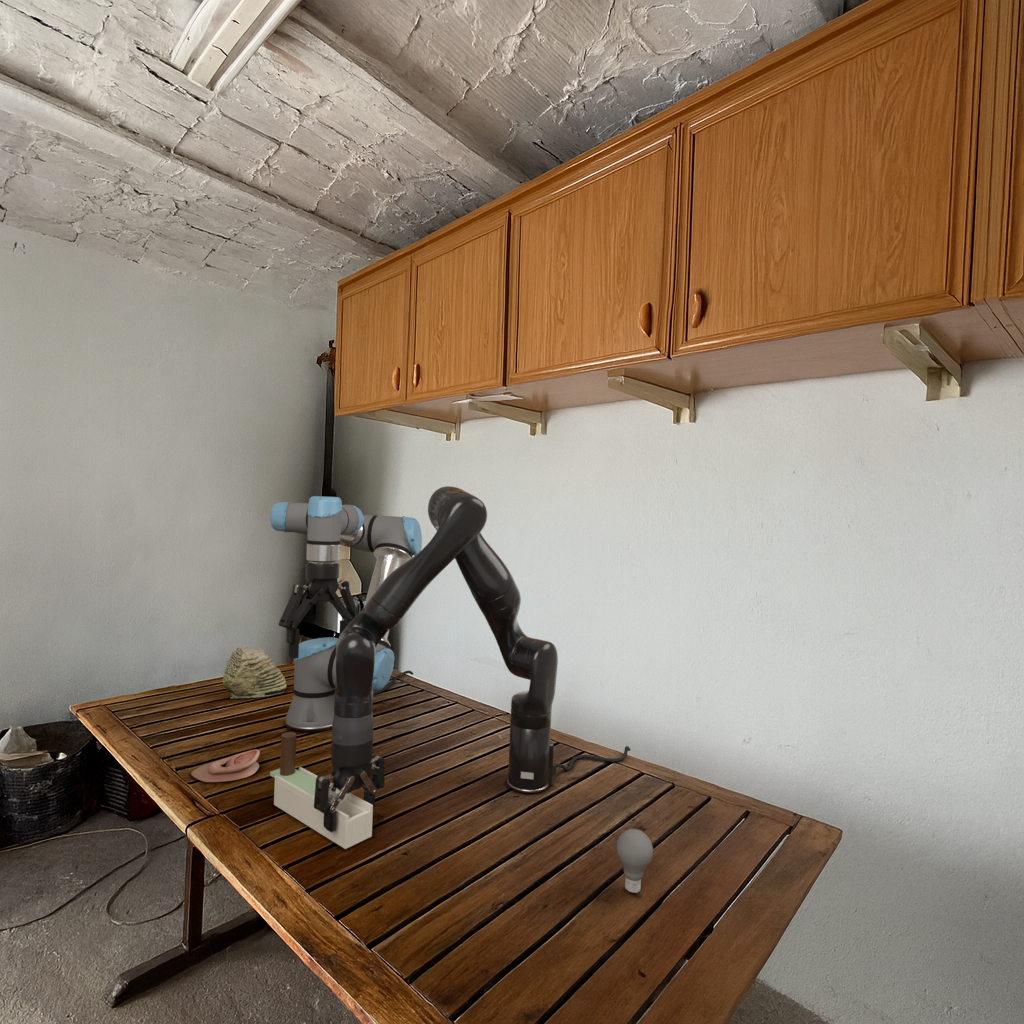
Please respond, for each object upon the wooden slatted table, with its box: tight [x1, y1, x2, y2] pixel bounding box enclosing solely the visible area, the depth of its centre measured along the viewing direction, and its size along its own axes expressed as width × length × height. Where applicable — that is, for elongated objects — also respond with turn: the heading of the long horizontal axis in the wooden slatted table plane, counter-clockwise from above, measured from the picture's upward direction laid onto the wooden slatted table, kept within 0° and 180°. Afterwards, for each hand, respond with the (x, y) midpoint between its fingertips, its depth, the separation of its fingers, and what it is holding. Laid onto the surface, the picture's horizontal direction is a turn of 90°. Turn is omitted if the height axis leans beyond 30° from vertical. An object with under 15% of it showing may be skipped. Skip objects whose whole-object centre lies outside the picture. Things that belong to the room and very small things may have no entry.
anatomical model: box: [190, 748, 261, 783], centre depth 143 cm, size 13×4×12 cm
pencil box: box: [273, 766, 374, 850], centre depth 124 cm, size 24×6×6 cm, turn 51°
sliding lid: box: [269, 731, 316, 796], centre depth 128 cm, size 16×4×9 cm, turn 52°
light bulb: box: [615, 828, 654, 894], centre depth 106 cm, size 6×6×10 cm
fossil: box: [222, 646, 288, 699], centre depth 198 cm, size 9×18×15 cm, turn 132°
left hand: (319, 652), depth 149 cm, fingers open, 13 cm apart
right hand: (349, 821), depth 119 cm, fingers open, 8 cm apart
